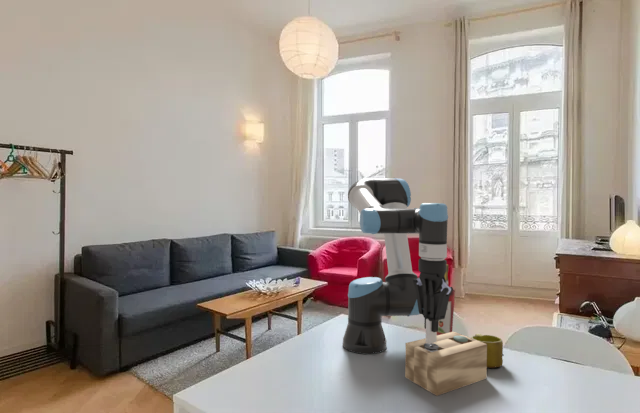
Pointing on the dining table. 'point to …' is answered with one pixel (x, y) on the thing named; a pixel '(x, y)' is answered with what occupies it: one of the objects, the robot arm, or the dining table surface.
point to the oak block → (446, 363)
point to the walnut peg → (460, 339)
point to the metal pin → (431, 347)
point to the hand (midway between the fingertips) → (431, 341)
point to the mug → (492, 349)
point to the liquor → (447, 313)
